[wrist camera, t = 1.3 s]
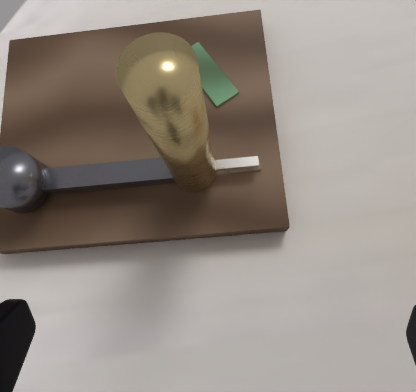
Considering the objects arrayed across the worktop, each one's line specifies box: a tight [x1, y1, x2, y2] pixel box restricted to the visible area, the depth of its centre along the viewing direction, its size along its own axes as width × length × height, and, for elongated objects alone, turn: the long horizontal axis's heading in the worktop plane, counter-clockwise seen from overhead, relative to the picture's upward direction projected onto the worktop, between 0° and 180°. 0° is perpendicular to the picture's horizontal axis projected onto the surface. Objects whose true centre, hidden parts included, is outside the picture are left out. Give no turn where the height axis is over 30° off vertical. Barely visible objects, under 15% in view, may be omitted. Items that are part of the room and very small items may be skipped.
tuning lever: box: [0, 32, 259, 213], centre depth 17 cm, size 4×17×10 cm, turn 94°
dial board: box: [0, 10, 289, 254], centre depth 24 cm, size 16×19×2 cm
